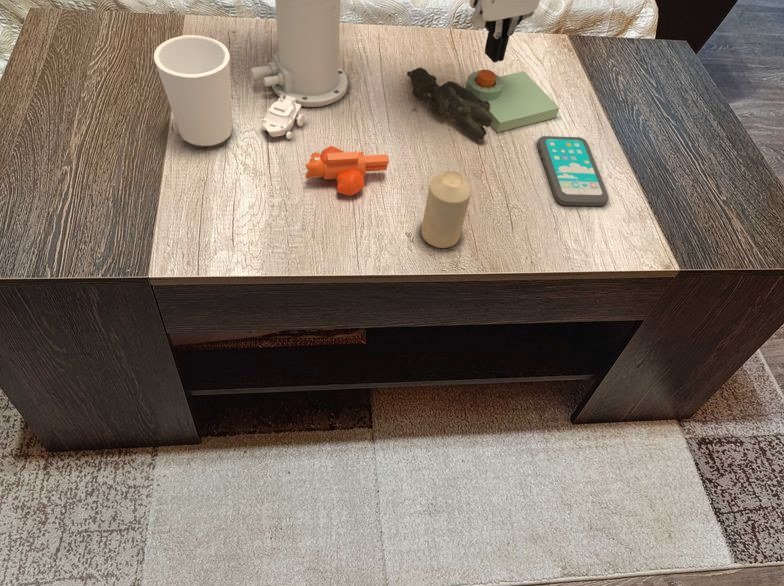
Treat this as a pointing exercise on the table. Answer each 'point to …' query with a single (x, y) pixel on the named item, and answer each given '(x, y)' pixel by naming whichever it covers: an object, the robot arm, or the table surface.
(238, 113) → the table surface
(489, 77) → the button
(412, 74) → the statue
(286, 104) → the toy car
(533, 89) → the scale
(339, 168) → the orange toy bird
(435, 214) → the candle
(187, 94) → the cup
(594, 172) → the smartphone
